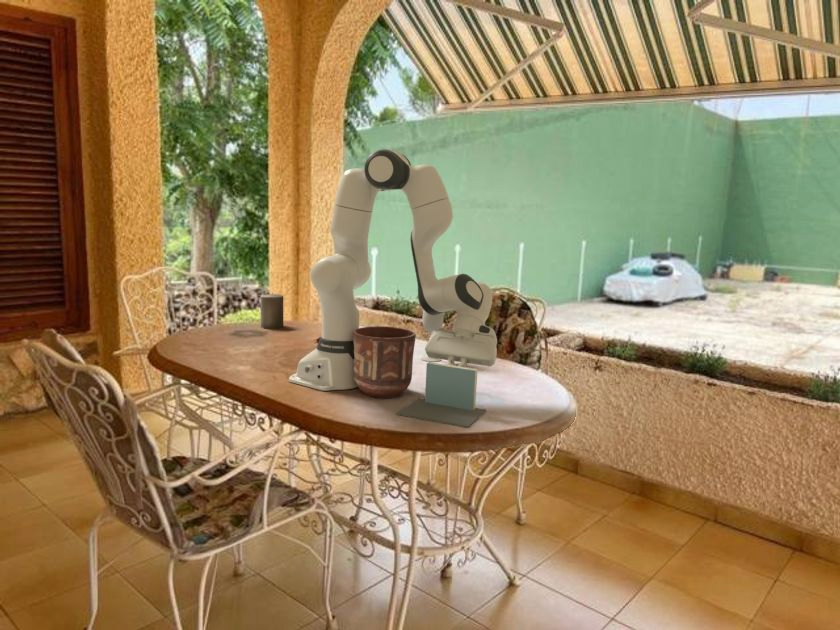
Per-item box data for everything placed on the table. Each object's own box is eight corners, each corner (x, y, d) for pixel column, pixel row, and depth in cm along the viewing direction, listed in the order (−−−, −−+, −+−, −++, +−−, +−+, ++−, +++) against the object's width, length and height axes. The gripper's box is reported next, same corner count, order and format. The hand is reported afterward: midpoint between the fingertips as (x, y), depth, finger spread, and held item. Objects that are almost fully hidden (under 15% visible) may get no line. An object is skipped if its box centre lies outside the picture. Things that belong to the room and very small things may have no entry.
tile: (424, 402, 173) (426, 363, 171) (427, 400, 175) (429, 362, 173) (472, 410, 167) (475, 370, 166) (475, 408, 169) (477, 369, 167)
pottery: (380, 380, 194) (382, 323, 191) (424, 392, 183) (427, 332, 180) (339, 391, 180) (340, 330, 177) (383, 405, 169) (386, 340, 166)
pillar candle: (286, 328, 268) (286, 293, 265) (264, 329, 263) (264, 294, 260) (278, 324, 276) (279, 290, 273) (257, 325, 271) (257, 291, 268)
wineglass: (422, 362, 219) (425, 303, 216) (418, 356, 227) (421, 299, 223) (443, 361, 221) (446, 303, 217) (438, 356, 228) (441, 300, 225)
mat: (395, 414, 163) (395, 412, 162) (418, 399, 176) (418, 398, 176) (468, 427, 155) (468, 426, 155) (486, 411, 169) (486, 409, 168)
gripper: (430, 321, 180) (416, 361, 173) (499, 330, 172) (486, 372, 165) (435, 334, 185) (421, 373, 177) (502, 343, 177) (490, 384, 170)
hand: (453, 373), depth 171 cm, fingers closed
